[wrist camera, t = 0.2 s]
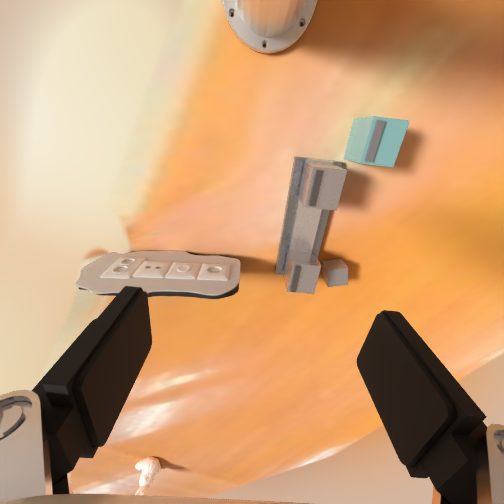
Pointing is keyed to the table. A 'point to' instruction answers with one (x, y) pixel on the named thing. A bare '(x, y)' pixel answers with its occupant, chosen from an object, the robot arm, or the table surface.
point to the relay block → (335, 272)
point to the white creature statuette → (147, 474)
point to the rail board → (307, 220)
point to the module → (375, 140)
